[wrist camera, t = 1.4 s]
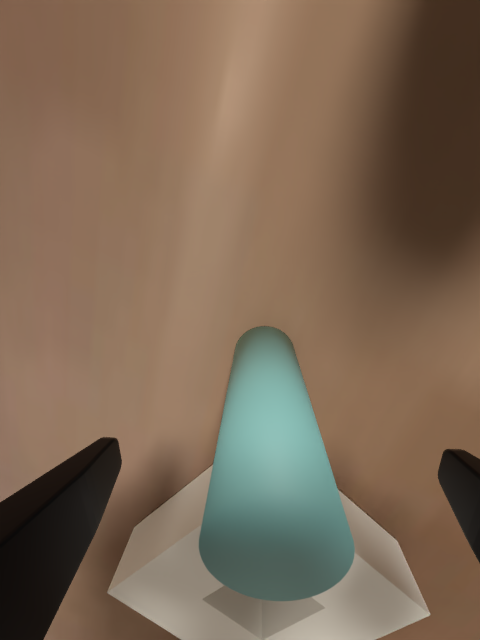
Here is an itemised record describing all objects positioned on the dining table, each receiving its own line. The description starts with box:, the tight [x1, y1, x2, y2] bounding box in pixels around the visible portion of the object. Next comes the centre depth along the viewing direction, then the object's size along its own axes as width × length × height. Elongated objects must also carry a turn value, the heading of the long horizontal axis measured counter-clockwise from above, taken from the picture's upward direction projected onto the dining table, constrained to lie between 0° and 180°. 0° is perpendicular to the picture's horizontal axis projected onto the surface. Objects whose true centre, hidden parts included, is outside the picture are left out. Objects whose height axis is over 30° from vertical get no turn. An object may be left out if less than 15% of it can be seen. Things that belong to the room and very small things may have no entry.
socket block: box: [107, 465, 430, 640], centre depth 16 cm, size 12×12×4 cm
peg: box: [199, 326, 355, 601], centre depth 10 cm, size 3×3×9 cm
